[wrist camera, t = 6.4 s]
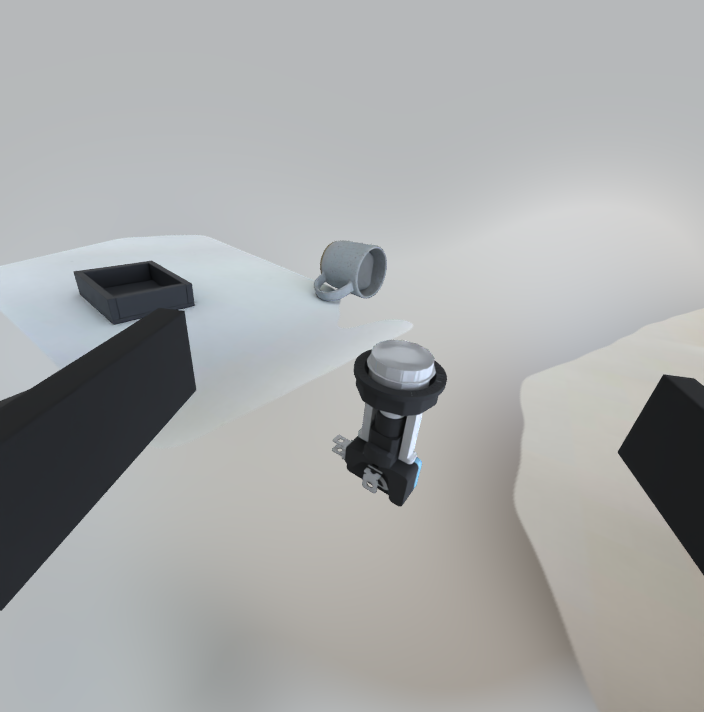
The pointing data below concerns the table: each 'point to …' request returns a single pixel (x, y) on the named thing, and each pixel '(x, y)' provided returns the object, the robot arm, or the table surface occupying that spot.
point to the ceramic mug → (351, 270)
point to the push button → (391, 415)
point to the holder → (133, 290)
